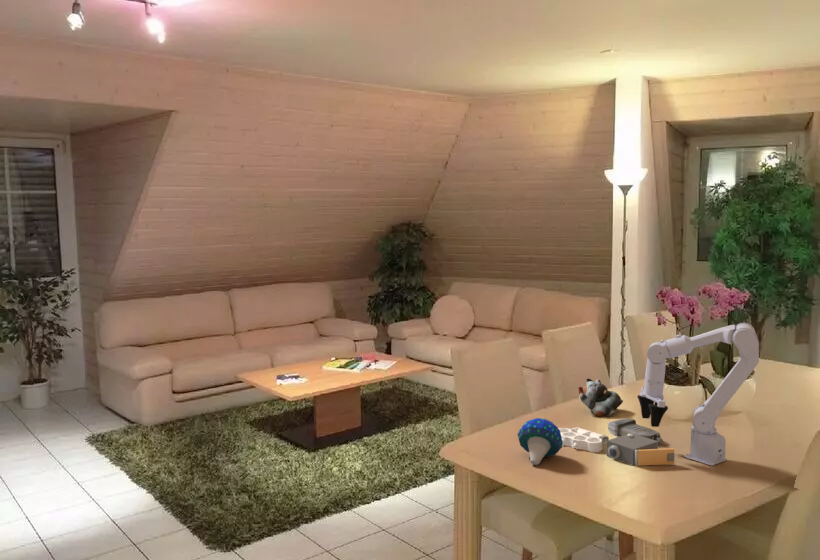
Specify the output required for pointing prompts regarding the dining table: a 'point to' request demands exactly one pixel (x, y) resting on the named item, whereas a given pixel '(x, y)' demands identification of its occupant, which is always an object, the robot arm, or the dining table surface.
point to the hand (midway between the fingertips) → (650, 422)
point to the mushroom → (540, 439)
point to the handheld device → (632, 429)
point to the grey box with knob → (628, 447)
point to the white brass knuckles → (583, 439)
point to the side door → (654, 456)
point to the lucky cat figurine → (599, 398)
